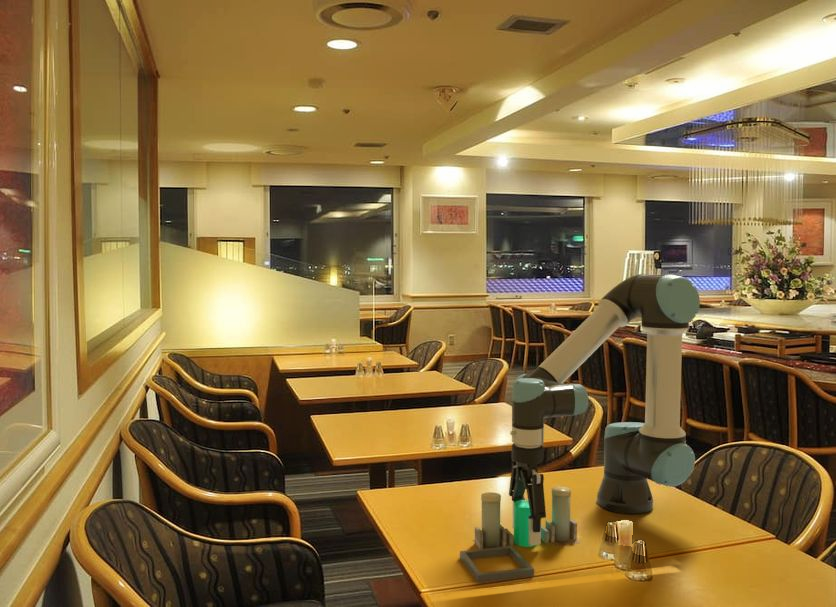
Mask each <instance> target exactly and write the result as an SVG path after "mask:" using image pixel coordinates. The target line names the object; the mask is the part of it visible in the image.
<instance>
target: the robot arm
mask: <svg viewBox="0 0 836 607" xmlns="http://www.w3.org/2000/svg"><path fill="white" fill-rule="evenodd" d="M700 300H701V298H700V295H699V291H698V289H697V287H696V285H695V284H693V282H692V281H691V280H690V279H688V278H686V277H684V276H681V275H680V276H678V275H674V274H648V273H640V274H635V275H632V276H629V277H628V278H626V279H625V280H623V281H620V282H619V283H617V285H615V286H614V287H612V289H611V290H609V291H608V292H607V293H606V294H605V295H604V296H602V298H601V299H600V300H599V301H598V302H597V303H598V304H597V306H598V307H597V308H596V309H595V310H594V311H593V312H592V313H591V314H590V315H589V316H588V317H587V318H585V319H584V321H582V323H581V324H580V325H579V326H578V327H577V328H575V330H574V331H573V332H572V333H571V334H570V335H569V336H568V337H567V338H566V339H565V340H564V341H563V342H562V343H561V344H560V345H559V346H558V347H557V348H555V350H553V352H551V353H550V355H549V356H548V357H546V359H544V361H542V362H541V363H540V365H538V367H536V368H535V369H534V370H533V371H532V372H531V373H523V374H520V375H518V376H517V377H516V379H515V380H514V382H513V384H512V390H511V431H510V432H509V433H510V435H511V442H512V444H511V457H510V458H511V473H510V480H509V482H510V483H509V490H508V491H509V492H508V495H509V497H511V501H512V529H513V530H514V503H515V502H516V501H519V500H526V497H525V493H526V496H527V501H528V502H529V508H530V513H531V516H528V518H529V545H535V546H538V545H541V543H542V539H541V525H542V519H546V518H547V513H546V512H547V511H546V501H545V499H546V498H545V489H544V481H545V480H544V479H545V477H544V474H543V473H539V470H538V464H540V463H542V462H543V460H544V445H543V444H544V442H545V441H544V440H545V425H544V424H545V419H549V418H557V417H568V416H570V417H573V416H577V415H581V414H584V413H585V412H586V411H587V410H588V407H589V399H590V398H589V393H588V391H587V389H586V387H585V386H584V385H582V384H580V383H571V382H569V383H568V384H566V383H564V382H566V381H567V380H568V379H569V378H570V377H571V376H572V375H573V374H574V373H575V371H577V369H579V367H581V366H582V364H584V363H585V362H586V361H587V360H588V358H590V357H591V356H592V355H593V353H595V351H597V350H598V349H599V347H601V345H603V344H604V342H606V341H607V340H608V338H610V337H611V335H612V334H614V333H615V332H616V331H617V330H618V329H619V327H620V328H623V327H626V326H627V325H628V324H629V323H630V322H632V321H633V320H635V319H639V318H641V323H640V324H641V325H640V326H641V328H642V329H643V330H644V331H645V332H646V334H647V335H646V364H645V365H646V367H645V368H646V369H645V370H646V371H645V373H646V374H645V375H646V376H645V410H644V412H645V413H644V415H645V416H644V422H637V421H635V422H633V421H627V422H626V421H625V422H623V421H622V422H613V423H610V424H607V425H606V427H605V430H604V437H603V441H604V443H603V451H604V452H603V478H602V479H601V483H600V486H599V488H598V491H597V494H596V503H597V505H598V506H599V507H600V508H603V509H604V510H608V511H610V512H613V513H618V514H628V515H629V514H631V515H632V514H633V515H639V514H645V513H648V512H651V511H652V510H653V509H654V498H653V494H652V491H651V488H650V485H649V481H648V480H650V481H651V482H654V483H655V484H657V485H663V486H664V487H669V488H673V487H678V486H680V485H681V484H683V483H685V482H686V481H687V479H688V478H689V477H690V476H691V474H692V472H693V471H694V468H695V464H696V456H695V453H694V450H693V449H692V448H691V447H690V445H688V444H687V443H686V442H687V440H686V438H687V437H686V436H687V434H686V433H687V432H686V431H685V430H684V429H683V428H682V427H681V426H680V424H681V422H680V421H681V399H682V398H681V396H682V394H681V393H682V392H681V390H682V360H683V359H682V357H683V334H685V332H687V331H688V330H689V328H690V322H691V321H693V320H694V319H695V317H697V316H696V314H698V313H699V311H700V305H701V304H700V303H701V301H700ZM525 491H526V492H525Z"/></svg>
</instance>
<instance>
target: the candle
mask: <svg viewBox="0 0 836 607" xmlns="http://www.w3.org/2000/svg"><path fill="white" fill-rule="evenodd" d="M528 516H531V513H530V508H529V502H528V500H527V499H525V500H519V501H516V502H515V503H514V529H513V544H516V545H517V546H520V547H525V548H526V547H527V548H528V547H530V548H532V547H535V546H536V545H529V518H528Z"/></svg>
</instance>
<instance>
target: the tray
mask: <svg viewBox="0 0 836 607" xmlns="http://www.w3.org/2000/svg"><path fill="white" fill-rule="evenodd" d="M503 556H509V557H511V559H513V560H514V562H516V564H517V565H518V566H519V567H520V568H514V569H505V570H497V571H496V570H494V571H486V572H481V570H479V568H478V567H477V566H476V565H475V563H474V562H473V560H474V559H476V560H477V559H485V558H493V557H494V558H495V557H503ZM459 559H460V560H461V562H462V564H463V565H464V566H465V567H466V569H467V570H468V571H469V573H470V574H471V575H472V577H473V578H474V580H475V581H476V582H477V584H482V583H490V582H491V583H492V582H499V581H508V580H517V579H523V578H524V579H525V578H533V577H535V569H534V568H533V566H532V565H531V564H530V563H529V562H528V561H527V560H526V559H525V558H524V556H522V555H521V554H520V553H519V552H518V550H517V549H516V548H514V545H513V546H508V545H506V547H497V548H487V549H479V548H478V549H469V550H461V551H459ZM526 583H529V582H526ZM520 584H521V583H518V585H520ZM509 585H510V586H512V584H511V583H510V584H509ZM501 586H504V584H503V585H501ZM492 587H495V586H493V585H492ZM484 588H487V586H486V587H484Z"/></svg>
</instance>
